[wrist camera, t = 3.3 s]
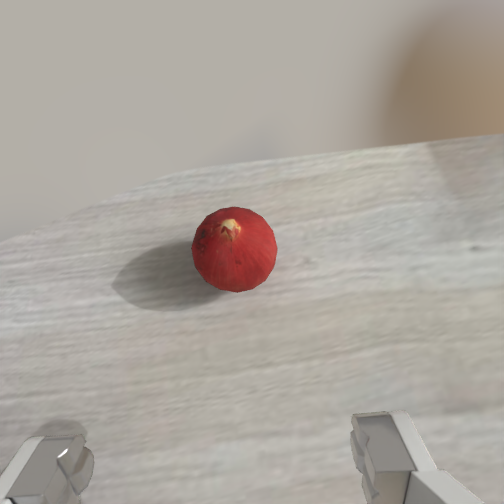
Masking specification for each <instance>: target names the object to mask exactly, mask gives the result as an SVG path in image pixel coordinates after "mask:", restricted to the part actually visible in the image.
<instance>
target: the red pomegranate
mask: <svg viewBox="0 0 504 504" xmlns="http://www.w3.org/2000/svg"><path fill="white" fill-rule="evenodd" d="M191 249H192V254H193V259H194V264H195V267H196V269H197V270H198V271H199V273H200V274H201V275H202V277H203V278H204V279H205V280H206V282H208V283H210V284H211V285H213V286H215V287H216V288H218V289H220V290H226V291H231V292H237V293H238V292H242V291H247V290H251V289H253V288H255V287H256V286H258V285H259V284H261V283H262V282H264V281H265V280H266V279H267V277H268V276H269V274H270V272H271V271H272V269H273V268H274V265H275V260H276V255H277V245H276V241H275V237H274V233H273V230H272V229H271V228H270V226H269V225H268V224H267V222H266V221H265V220H264V218H263V217H262V216H260V215H258V214H256V213H255V212H253V211H251V210H250V209H245V208H239V207H229V208H223V209H219V210H218V211H216V212H214V213H212V214H210V215H208V216H207V217H206V218H205V219H204V221H203V222H202V223H201V224H200V226H199V227H198V228H197V230H196V234H195V237H194V241H193V244H192V248H191Z"/></svg>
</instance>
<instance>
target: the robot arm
mask: <svg viewBox="0 0 504 504" xmlns="http://www.w3.org/2000/svg"><path fill="white" fill-rule="evenodd" d="M351 423H352V426H353V429H354V430H353V431H352V432H351V448H352V454H353V458H354V461H355V465H356V468H357V469H358V470H359V471H360V472H361V473H362V474H363V476H362V488H363V491H364V494H365V498H366V501H367V504H485V503H484V502H483V501H481V500H480V499H479V498H478V497H477V496H475V495H474V494H473V493H472V492H471V491H469V490H468V489H467V488H466V487H464V486H463V485H462V484H461V483H460V482H458V481H457V480H456V479H455V478H454V477H452V476H451V475H450V474H449V473H448V472H446V471H445V470H444V469H441V470H438V468H437V467H436V465H435V463H434V461H433V459H432V457H431V455H430V453H429V452H428V450H427V448H426V446H425V444H424V442H423V440H422V438H421V437H420V435H419V433H418V431H417V429H416V427H415V425H414V423H413V422H412V420H411V418H410V416H409V414H408V413H407V412H406V411H403V410H401V411H391V412H386V411H383V412H372V413H361V414H353V416H352V421H351ZM85 443H86V440H85V438H84V436H83V435H82V434H79V435H61V436H41V437H30V438H29V439H27V440H26V441H25V442H24V443H23V444H22V445H21V447H20V448H19V450H18V451H17V453H16V454H15V456H14V457H13V459H12V460H11V462H10V463H9V465H8V466H7V468H6V469H5V470H4V472H3V473H2V475H1V476H0V504H80V500H79V494H80V493H81V492H82V491H83V490H84V489H85V488H86V487H87V486H88V484H89V482H90V479H91V477H92V473H93V468H94V457H93V454H92V452H91V450H89V449H87V448H86V447H84V445H85Z"/></svg>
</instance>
